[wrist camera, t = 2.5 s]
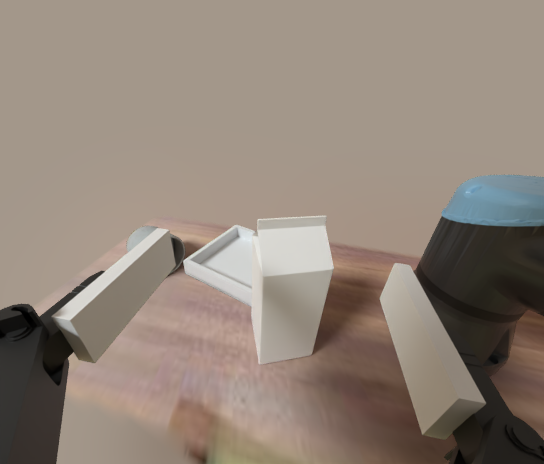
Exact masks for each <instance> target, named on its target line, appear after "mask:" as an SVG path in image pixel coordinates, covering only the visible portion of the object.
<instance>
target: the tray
mask: <svg viewBox="0 0 544 464" xmlns="http://www.w3.org/2000/svg"><path fill="white" fill-rule="evenodd" d="M254 233H255V231H253V230H250V229H247V228H244V227H242V226H239V225H235V226H233V227H232V228H230V229H229V230H227V231H226V232H224V233H223V234H222V235H220V236H219V237H217V238H216V239H214V240H213V241H211V242H210V243H208V244H207V245H205V246H204V247H202V248H201V249H199V250H198V251H196V252H195V253H193V254H192V255H190V256H189V257H188V258H186V259H185V260H183V264H184V269H185V274H187V275H189V276H191V277H193V278H195V279H197V280H199V281H201V282H203V283H205V284H207V285H209V286H211V287H213V288H215V289H217V290H219V291H221V292H223V293H225V294H227V295H229V296H231V297H233V298H235V299H237V300H239V301H241V302H243V303H245V304H247V305H249V306H251V307H252V235H253V234H254Z"/></svg>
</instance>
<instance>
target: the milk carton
mask: <svg viewBox="0 0 544 464" xmlns="http://www.w3.org/2000/svg"><path fill="white" fill-rule="evenodd" d="M326 218H327V217H326V216H310V217H290V218H273V219H258V228H257V230H256V231H255V233H254V234H253V235H252V316H251V318H252V324H253V330H254V336H255V342H256V349H257V355H258V361H259V364H260V365H261V364H267V363H273V362H278V361H283V360H289V359H294V358H300V357H305V356H310V355H312V352H313V348H314V344H315V340H316V336H317V332H318V328H319V324H320V320H321V316H322V312H323V308H324V304H325V300H326V296H327V292H328V288H329V284H330V280H331V276H332V272H333V269H334V267H333V262H332V257H331V252H330V247H329V242H328V237H327V233H326V227H325V223H326Z"/></svg>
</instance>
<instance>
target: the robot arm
mask: <svg viewBox="0 0 544 464" xmlns="http://www.w3.org/2000/svg"><path fill="white" fill-rule="evenodd" d="M175 266H176V263H175V258H174V253H173V248H172V243H171V237H170V232H169V230H167V229H160V228H157V229H156V230H154V231H153V232H152V233H151V234H150V235H148V236H147V237H146V238H145V239H144V240H142V241H141V242H140V243H139V244H138V245H136V246H135V247H134V248H133V249H132V250H130V251H129V252H128V253H127V254H126V255H124V256H123V257H122V258H121V259H120V260H119V261H117V262H116V263H115V264H114V265H113V266H111V267H110V268H109V269H108V270H107V271H100V272H98V273H96V274H94V275H92V276H90V277H89V278H87V279H86V280H85V281H84V282H82V283H81V284H80V286H77V287H76V288H75V289H74V290H72V292H71V293H69V294H67V295H66V296H65V297H64V298H62V299H61V300H60V301H59V302H57V303H56V304H55V305H54V306H52V307H51V308H50V309H49V310H47V311H46V312H45V313H44V314H42V315H41V316H40V317H39V316H38V315H37V313H36V312H35V310H34V309H33V307H32V306H30V305H29V304H18V305H12V306H10V307H7V308H4V309H2V310H0V464H56V461H57V452H58V445H59V437H60V429H61V422H62V415H63V406H64V399H65V392H66V384H67V376H68V369H69V361H68V359H67V358H68V357H69V356H70V355H71V354H72V353H73V352H74V353H75V355H76V356H77V358H78V359H79V360H82V361H86V362H91V363H96V362H97V360H98V359H99V358H100V357H101V356H102V354H103V353H104V352H105V351H106V350H107V348H108V347H109V346H110V345H111V343H112V342H113V341H114V340H115V339H116V337H117V336H118V335H119V334H120V333H121V331H122V330H123V329H124V328H125V326H126V325H127V324H128V323H129V322H130V320H131V319H132V318H133V317H134V316H135V314H136V313H137V312H138V311H139V310H140V308H141V307H142V306H143V305H144V303H145V302H146V301H147V300H148V299H149V297H150V296H151V295H152V294H153V293H154V291H155V290H156V289H157V288H158V286H159V285H160V284H161V283H162V282H163V280H164V279H165V278H166V277H167V276H168V274H169V273H170V272H171V271H172V270H173V268H174V267H175ZM380 302H381V305H382V308H383V311H384V314H385V318H386V321H387V324H388V327H389V330H390V334H391V337H392V340H393V343H394V346H395V350H396V353H397V356H398V359H399V362H400V365H401V369H402V372H403V375H404V378H405V381H406V385H407V388H408V391H409V394H410V397H411V400H412V404H413V407H414V410H415V413H416V416H417V420H418V423H419V426H420V429H421V432H422V435H425V436H429V437H434V438H438V439H443V440H445V439H446V438H448V437H449V436H450V435H451V434H452V433H453V435H454V437H455V440H456V442H457V444H458V445H457V446H456V447H455V448H454V449H452V450H451V451H450V452H448V453H447V454H446V456H445V457H444V458H445V459H446V460H447V461H448V460H449V459H450V458H451V459H450V462H449V464H544V440H543V439H542V438H541V437H540V436H539V435H538V433H537V432H536V431H535V430H534V429H532V428H531V427H530V426H529V425H528V424H526V423H525V422H524V421H522V420H520V419H519V418H517V417H515V416H513V414H512V413H511V412H510V410H509V409H508V407H507V405H506V404H505V402H504V400H503V399H502V397H501V396H500V394H499V392H498V391H497V389H496V387H495V386H494V384H493V383H492V381H491V379H490V378H489V376H491V375H493V374H494V373H496V372H497V371H498V370H499V369H500V368H501V367H502V366H503V365H504V364H505V363H506V361H507V359H508V357H509V354H510V350H511V345H512V341H513V336H514V332H515V327H516V323H517V321H518V320H519V318H520V317H521V316H522V315H523V314H524V313H525V312H526V311H527V310H528V309H529V310H532V311H534V312H536V313H538V314H540V315H542V316H544V177H536V176H521V175H488V176H480V177H475V178H472V179H470V180H467V181H465V182H464V183H462V184H461V185H460V186H459V187H458V188H457V190H456V192H455V193H454V195H453V197H452V199H451V200H450V202H449V204H448V205H447V207H446V208H445V209H444V210H443V211H442V217H441V219H440V221H439V223H438V226H437V227H436V229H435V231H434V233H433V235H432V237H431V240H430V242H429V244H428V246H427V248H426V250H425V252H424V254H423V256H422V258H421V260H420V262H419V264H418V266H417V268H416V270H414V271H413V270H412V268H411V267H410V265H406V264H399V263H395V264H394V266H393V268H392V271H391V273H390V275H389V278H388V280H387V282H386V285H385V287H384V289H383V292H382V294H381V296H380Z"/></svg>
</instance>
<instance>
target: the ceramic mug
mask: <svg viewBox="0 0 544 464" xmlns="http://www.w3.org/2000/svg"><path fill="white" fill-rule="evenodd" d="M157 228H158V227H154V226H143V227H140V228H138V229H136V230H135V231H133V232H132V233H131V235H130V236H129V238H128V240H127V245H126V247H127V251H128V252H129V251H130V250H132V249H133V248H134V247H135V246H136V245H138V244H139V243H140V242H141V241H142V240H144V239H145V238H146V237H147V236H148V235H150V234H151V233H152V232H153V231H154V230H156V229H157ZM170 237H171V243H172V248H173V253H174V258H175V263H176V266H175V267H174V268H173V270H172V271H171V272H170V273H169V274H171V273H172V272H174V271H175V270H176V269H177V268H178V267H179V266H180V265H181V263H182V261H183V259H184V256H185V246H184V244H183V242H182V240H181V239H180V238H178V237H176V236H174V235H172V234H170ZM169 274H168V275H169Z"/></svg>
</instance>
